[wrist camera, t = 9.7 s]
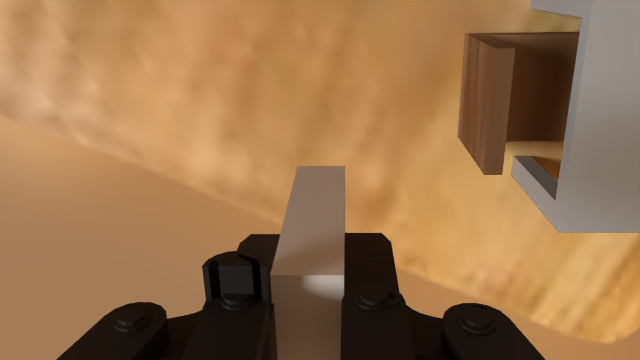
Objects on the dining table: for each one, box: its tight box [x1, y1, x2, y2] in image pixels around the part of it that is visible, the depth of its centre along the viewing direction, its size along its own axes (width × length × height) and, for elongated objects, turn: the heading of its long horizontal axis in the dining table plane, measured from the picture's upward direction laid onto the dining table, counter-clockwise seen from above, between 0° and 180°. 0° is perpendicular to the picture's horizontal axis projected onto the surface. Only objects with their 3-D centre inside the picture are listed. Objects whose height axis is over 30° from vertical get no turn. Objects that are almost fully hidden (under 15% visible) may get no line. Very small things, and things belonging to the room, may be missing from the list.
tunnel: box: [511, 0, 640, 233], centre depth 32 cm, size 9×13×9 cm
